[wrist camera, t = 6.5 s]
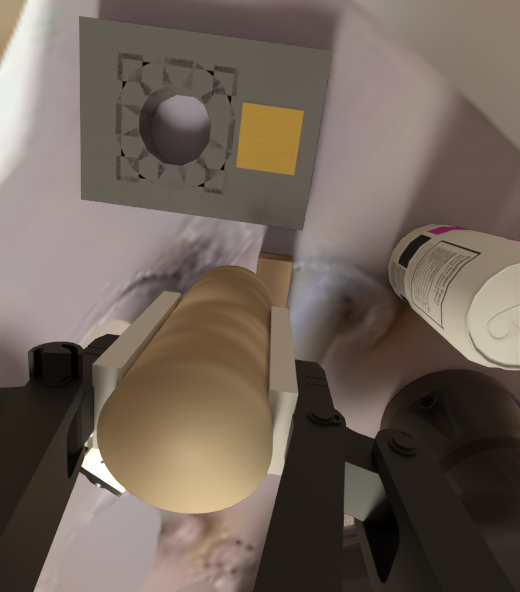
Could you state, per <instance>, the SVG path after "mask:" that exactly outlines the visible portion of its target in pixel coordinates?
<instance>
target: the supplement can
mask: <svg viewBox="0 0 520 592" xmlns="http://www.w3.org/2000/svg"><path fill="white" fill-rule="evenodd" d="M388 273H389V281H390V283H391V285H392V287H393V290H394V292H395V293H396V294H397V295H398V296H399V297H400V298H401V299H402V300H404V301H405V302H406V303H407V304H408V305H409V306H410V307H411V308H412V309H413V310H414V311H416V312H417V313H418V314H419V315H420V316H421V317H422V318H423V319H424V320H425V321H427V322H428V323H429V324H430V325H431V326H432V327H433V328H434V329H435V330H436V331H437V332H439V333H440V334H441V335H442V336H443V337H444V338H445V339H446V340H447V341H448V342H449V343H451V344H452V345H453V346H454V347H455V348H456V349H457V350H458V351H459V352H461V353H462V354H463V355H464V356H465V357H466V358H467V359H468V360H470V361H473V362H476V363H479V364H481V365H484V366H487V367H499V368H502V369H505V370H520V241H517V240H512V239H508V238H504V237H499V236H495V235H490V234H486V233H482V232H477V231H473V230H468V229H464V228H460V227H455V226H451V225H446V224H429V225H426V226H423V227H420V228H417V229H414V230H413V231H411V232H410V233H409V234H407V235H406V236H405V237H403V238H402V239H401V240H400V242H399V243H398V244H397V246H396V247H395V249H394V250H393V251H392V254H391V258H390V261H389V265H388Z"/></svg>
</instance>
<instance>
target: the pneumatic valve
mask: <svg viewBox="0 0 520 592" xmlns="http://www.w3.org/2000/svg"><path fill="white" fill-rule="evenodd" d="M80 472H81V473H82V474H84V475H85V476H86V477H87V479H88V480H89V481H90V482H91V483H93V484H94V485H96V486H98V487H101V488H106V489H107V490H109V491H110V492H112V493H113V494H115V495H117V496H118V497H120V496H121V495H122V493H123V492H124V491H125V490H126V489H124V488H123V487H122V486H121V485H120V484H119V483H118V482H117V481H116V480H115V479H114V477H113V476H112V475H111V474H110V472H109V471H108V469H107V467H106V466H105V464H104V462H103V460H102V458H101V455H100V452H99V449H93V433H92V434H91V436H90V437H89V439H88V440H87V441H86V443H85V457H84V461H83V464H82V466H81V469H80Z"/></svg>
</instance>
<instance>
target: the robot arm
mask: <svg viewBox="0 0 520 592" xmlns="http://www.w3.org/2000/svg"><path fill="white" fill-rule="evenodd" d="M180 301H181V293H176V292H169V291H163V292H162V293H161V294H160V296H159V297H158V298H157V299H156V300H155V301H154V302H153V303H152V304H151V305H150V306H149V307H148V308H147V309H146V310H145V311H144V312H143V313H142V314H141V315H140V316H139V317H138V318H137V319H136V320H135V321H134V322H133V323H132V324H131V325H130V326H129V327H128V329H126V330H125V331H124V333H123V334H122V335H121V336H119V335H112V334H106V335H104V336H101V337H99V338H97V339H95V340H94V341H93V342H92V343H90V344H89V345H88V347H87V348H85V349H83V348H82V347H81V346H80V345H77V344H75V343H71V342H51V343H45V344H41V345H39V346H36V347H34V348H32V349H31V350H29V351H28V361H29V376H30V380H29V381H28V382H27V384H26V385H25V386H23V387H6V388H0V592H33V591H34V589H35V586H36V583H37V581H38V578H39V576H40V573H41V570H42V568H43V565H44V563H45V560H46V557H47V555H48V552H49V550H50V547H51V544H52V542H53V539H54V537H55V534H56V531H57V529H58V526H59V524H60V521H61V518H62V516H63V513H64V511H65V508H66V505H67V503H68V500H69V498H70V495H71V492H72V490H73V487H74V485H75V482H76V479H77V477H78V474H79V472H80V469H81V466H82V464H83V461H84V457H85V443H86V441H87V440H88V439H89V437H90V436H91V434H92V433H93V449H98V444H97V423H98V418H99V415H100V412H101V409H102V407H103V405H104V404H105V402H106V400H107V399H108V397H109V396H110V395H111V393H112V392H113V391H114V389H115V388H116V387H117V385H118V384H119V383H120V381H121V380H122V379H123V377H124V376H125V375H126V373H127V372H128V371H129V369H130V368H131V367H132V365H133V364H134V363H135V361H136V360H137V359H138V357H139V356H140V355H141V353H142V352H143V351H144V349H145V348H146V347H147V345H148V344H149V343H150V341H151V340H152V339H153V337H154V336H155V335H156V333H157V332H158V331H159V329H160V328H161V327H162V325H163V324H164V323H165V321H166V320H167V319H168V317H169V316H170V315H171V313H172V312H173V311H174V309H175V308H176V307H177V305H178V304H179V303H180ZM326 380H327V379H326V375H325V371H324V370H323V369H322V368H321V366H320V365H319V364H318V363H316V362H309V361H302V360H295V359H294V350H293V341H292V332H291V322H290V313H289V309H287V308H280V307H273V306H272V308H271V322H270V355H269V388H268V401H269V403H270V406H271V410H272V416H273V455H272V460H271V464H270V467H269V469H268V472H267V473H269V474H277V475H282V476H281V480H280V484H279V488H278V492H277V496H276V500H275V505H274V509H273V513H272V517H271V521H270V525H269V529H268V533H267V537H266V541H265V545H264V549H263V553H262V558H261V562H260V566H259V570H258V574H257V578H256V582H255V586H254V590H253V592H520V402H519V400H518V399H517V398H516V397H515V396H514V395H513V394H511V393H510V392H509V391H508V390H507V389H506V388H505V387H504V386H502V385H501V384H500V383H499V382H497V381H496V380H494V379H492V378H490V377H488V376H486V375H484V374H480V373H477V372H473V371H466V370H449V371H441V372H437V373H433V374H430V375H427V376H425V377H422V378H420V379H418V380H416V381H414V382H413V383H411V384H410V385H408V386H407V387H405V388H404V389H403V390H402V391H401V392H399V393H398V394H397V395H396V397H395V398H394V399H393V400H392V401H391V403H390V404H389V406H388V407H387V409H386V411H385V413H384V416H383V419H382V422H381V427H380V431H379V432H378V433H377V435H376V437H375V439H373V438H370V437H367V436H365V435H362V434H359V433H357V432H355V431H353V430H351V429H349V428H348V427H346V422H345V418H344V417H343V416H342V415H341V413H340V412H338V411H337V410H335V409H334V406H333V402H332V398H331V394H330V390H329V388H328V383H327V381H326ZM284 463H285V464H284ZM344 513H345V514H347V515H350V516H352V517H354V525H350V526H346V527H343V526H344Z"/></svg>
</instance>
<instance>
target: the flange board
mask: <svg viewBox="0 0 520 592" xmlns="http://www.w3.org/2000/svg"><path fill="white" fill-rule="evenodd" d="M79 32H80V130H81V199H82V200H89V201H97V202H104V203H111V204H118V205H125V206H132V207H140V208H147V209H154V210H161V211H168V212H175V213H183V214H190V215H197V216H204V217H211V218H218V219H226V220H233V221H240V222H247V223H254V224H261V225H269V226H276V227H283V228H290V229H297V230H303V226H304V220H305V214H306V208H307V202H308V196H309V190H310V184H311V178H312V172H313V166H314V160H315V154H316V148H317V142H318V136H319V130H320V124H321V118H322V112H323V105H324V99H325V93H326V87H327V81H328V75H329V69H330V63H331V57H332V51H331V50H323V49H316V48H309V47H301V46H294V45H287V44H279V43H272V42H265V41H257V40H250V39H243V38H235V37H228V36H221V35H213V34H206V33H199V32H192V31H184V30H177V29H170V28H162V27H155V26H148V25H140V24H133V23H126V22H118V21H111V20H104V19H96V18H89V17H82V16H79ZM175 95H184V96H192V97H195V98H197V99H198V100H199V101H200V102H202V103H203V104H204V106H205V108H206V110H207V113H208V115H209V118H210V120H211V127H210V139H209V143H208V145H207V146H206V148H205V149H204V151H203V152H202V154H201V155H200V157H199V158H198V159H196V160H193V161H191V162H189V163H187V164H185V165H182V166H179V165H172V164H171V163H169V162H168V161H167V160H165V159H164V158H163V157H162V156H160V155H159V154H158V152H157V150H156V147H155V145H154V143H153V141H152V139H151V118H152V116H153V115H154V113H155V111H156V110H157V108H158V106H159V105H160V103H161V102H163V101H165V100H167V99H169V98H171V97H173V96H175Z"/></svg>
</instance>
